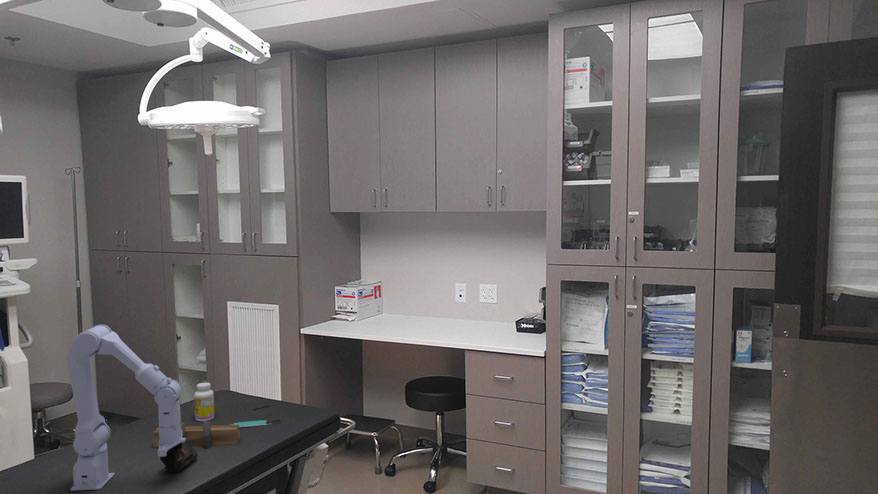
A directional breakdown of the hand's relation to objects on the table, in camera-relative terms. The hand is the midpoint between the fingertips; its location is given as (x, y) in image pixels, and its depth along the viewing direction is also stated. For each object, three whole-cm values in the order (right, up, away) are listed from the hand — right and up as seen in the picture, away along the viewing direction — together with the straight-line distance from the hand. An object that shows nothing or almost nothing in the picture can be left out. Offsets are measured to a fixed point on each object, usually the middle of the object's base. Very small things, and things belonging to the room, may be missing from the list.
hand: (171, 470), depth 175 cm
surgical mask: (+10, +1, +41) cm, 42 cm away
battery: (-1, -2, +8) cm, 8 cm away
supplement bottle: (-9, +1, +47) cm, 48 cm away
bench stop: (-2, 0, +23) cm, 23 cm away
